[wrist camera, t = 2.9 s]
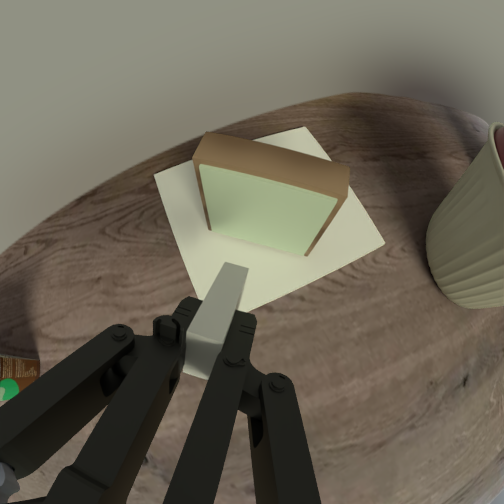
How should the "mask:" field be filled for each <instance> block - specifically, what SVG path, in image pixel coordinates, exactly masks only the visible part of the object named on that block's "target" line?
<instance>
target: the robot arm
mask: <svg viewBox="0 0 504 504" xmlns="http://www.w3.org/2000/svg"><path fill="white" fill-rule="evenodd" d="M248 271H249V268H246V267H243V266H239V265H236V264H232V263H228V262H224V264H223V266H222V268H221V270H220V271H219V273H218V275H217V277H216V278H215V280H214V282H213V284H212V286H211V288H210V289H209V291H208V293H207V295H206V297H205V298H204V300H199V299H196V298H193V297H190V296H188V297H187V298H185V299H183V300H182V301H181V302H180V304H179V305H178V307H177V308H176V310H175V311H174V313H173V314H172V316H169V315H163V316H159V317H157V318H155V319H154V320H153V335H152V336H142V335H134V332H133V330H132V329H131V328H130V327H128V326H126V325H123V324H116V325H112V326H110V327H108V328H107V329H105V330H104V331H103V332H101V333H100V334H98V335H97V336H96V337H94V338H93V339H91V340H90V341H89V342H87V343H86V344H84V345H83V346H82V347H80V348H79V349H77V350H76V351H75V352H73V353H72V354H71V355H69V356H68V357H66V358H65V359H64V360H62V361H61V362H60V363H58V364H57V365H56V366H54V367H53V368H51V369H50V370H49V371H47V372H46V373H45V374H43V375H42V376H41V377H39V378H38V379H37V380H35V381H34V382H33V383H31V384H30V385H29V386H27V387H26V388H25V389H23V390H22V391H21V392H19V393H18V394H17V395H15V396H14V397H13V398H11V399H10V400H9V401H7V402H6V403H5V404H4V405H2V406H1V407H0V504H126V501H127V497H128V495H129V493H130V490H131V488H132V486H133V483H134V481H135V479H136V476H137V474H138V472H139V470H140V467H141V465H142V463H143V460H144V458H145V456H146V454H147V451H148V449H149V447H150V445H151V442H152V440H153V438H154V436H155V433H156V431H157V429H158V427H159V424H160V422H161V420H162V418H163V416H164V413H165V411H166V409H167V407H168V404H169V402H170V400H171V398H172V396H173V393H174V391H175V389H176V387H177V385H178V382H179V379H180V373H181V371H182V368H183V372H184V373H187V374H190V375H193V376H196V377H199V378H203V379H206V380H208V382H207V385H206V388H205V390H204V393H203V396H202V399H201V401H200V404H199V407H198V409H197V412H196V415H195V418H194V420H193V423H192V426H191V428H190V431H189V434H188V437H187V439H186V442H185V445H184V447H183V450H182V453H181V456H180V458H179V461H178V464H177V466H176V469H175V472H174V474H173V477H172V480H171V483H170V485H169V488H168V491H167V493H166V496H165V499H164V501H163V504H213V503H214V500H215V496H216V492H217V489H218V485H219V481H220V477H221V474H222V470H223V466H224V462H225V458H226V454H227V451H228V447H229V443H230V439H231V435H232V431H233V427H234V423H235V419H236V415H237V410H240V411H241V412H243V413H245V414H247V418H248V429H249V439H250V449H251V459H252V469H253V478H254V487H255V496H256V504H321V500H320V496H319V491H318V487H317V483H316V478H315V474H314V470H313V465H312V461H311V457H310V452H309V448H308V444H307V439H306V435H305V431H304V427H303V423H302V418H301V414H300V410H299V406H298V402H297V397H296V393H295V389H294V385H293V383H292V381H291V380H290V379H289V378H288V377H287V376H285V375H283V374H281V373H269V374H267V375H265V374H263V373H261V372H259V371H258V370H256V369H255V368H254V367H253V366H252V364H251V363H250V359H249V357H250V351H251V347H252V343H253V338H254V334H255V329H256V325H257V320H256V317H255V315H254V314H250V313H246V312H243V311H239V310H238V309H239V306H240V303H241V299H242V295H243V291H244V287H245V283H246V279H247V275H248ZM107 405H108V406H107ZM106 406H107V408H106V409H105V411H104V413H103V414H102V416H101V418H100V419H99V421H98V423H97V424H96V426H95V428H94V429H93V431H92V433H91V434H90V436H89V438H88V439H87V441H86V443H85V445H84V446H83V448H82V450H81V452H80V453H79V455H78V457H77V459H76V460H75V462H74V463H73V464H72V465H70V466H67V467H65V468H63V469H62V470H61V472H60V473H59V474H58V476H57V478H56V480H55V482H54V483H53V485H52V487H51V489H50V491H49V493H48V494H47V496H45V497H40V498H36V499H31V500H25V501H19V502H12V503H7V502H8V498H9V497H10V496H11V495H12V494H14V493H16V492H18V491H19V490H20V486H19V483H18V482H17V480H18V479H21V478H24V477H26V476H28V475H30V474H31V473H33V472H34V471H35V470H37V469H38V468H39V467H40V466H41V465H42V464H44V463H45V462H46V461H47V460H48V459H49V458H50V457H51V456H52V455H54V454H55V453H56V452H57V451H58V450H59V449H60V448H61V447H62V446H63V445H65V444H66V443H67V442H68V441H69V440H70V439H71V438H72V437H73V436H74V435H75V434H77V433H78V432H79V431H80V430H81V429H82V428H83V427H84V426H85V425H86V424H87V423H88V422H90V421H91V420H92V419H93V418H94V417H95V416H96V415H97V414H98V413H99V412H100V411H101V410H102V409H104V408H105V407H106Z"/></svg>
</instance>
